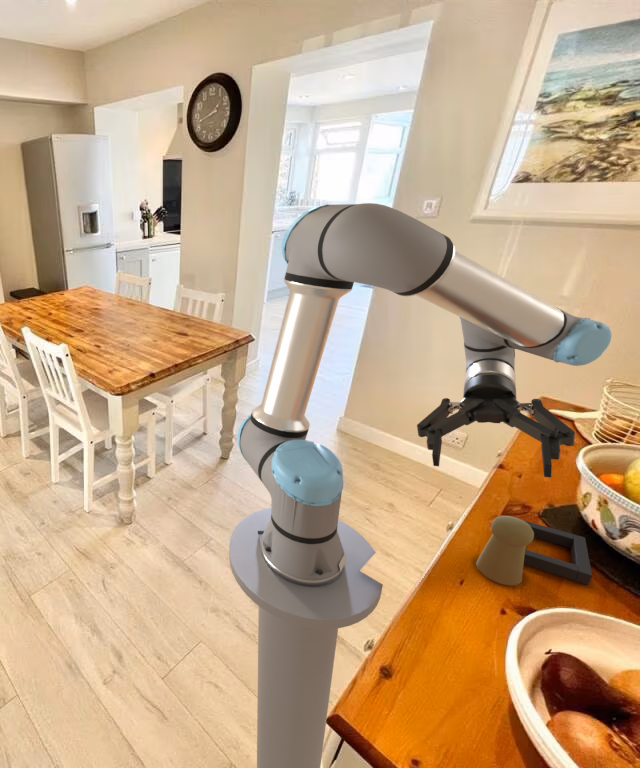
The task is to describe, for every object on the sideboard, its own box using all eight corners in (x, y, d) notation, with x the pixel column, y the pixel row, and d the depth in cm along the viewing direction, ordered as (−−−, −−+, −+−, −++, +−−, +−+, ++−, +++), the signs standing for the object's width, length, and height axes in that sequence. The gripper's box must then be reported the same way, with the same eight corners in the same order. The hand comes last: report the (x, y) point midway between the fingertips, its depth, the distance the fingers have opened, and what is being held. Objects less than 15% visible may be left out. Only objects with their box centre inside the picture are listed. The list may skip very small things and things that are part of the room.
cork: (470, 569, 71) (485, 522, 67) (482, 551, 74) (497, 504, 70) (515, 592, 67) (534, 542, 62) (526, 571, 70) (544, 522, 65)
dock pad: (506, 558, 72) (509, 549, 72) (507, 524, 79) (509, 516, 78) (588, 585, 66) (592, 575, 65) (581, 546, 73) (585, 537, 72)
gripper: (584, 404, 71) (603, 494, 58) (413, 402, 88) (399, 471, 75) (587, 369, 68) (607, 456, 55) (409, 374, 85) (394, 442, 72)
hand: (487, 465), depth 65 cm, fingers open, 13 cm apart
